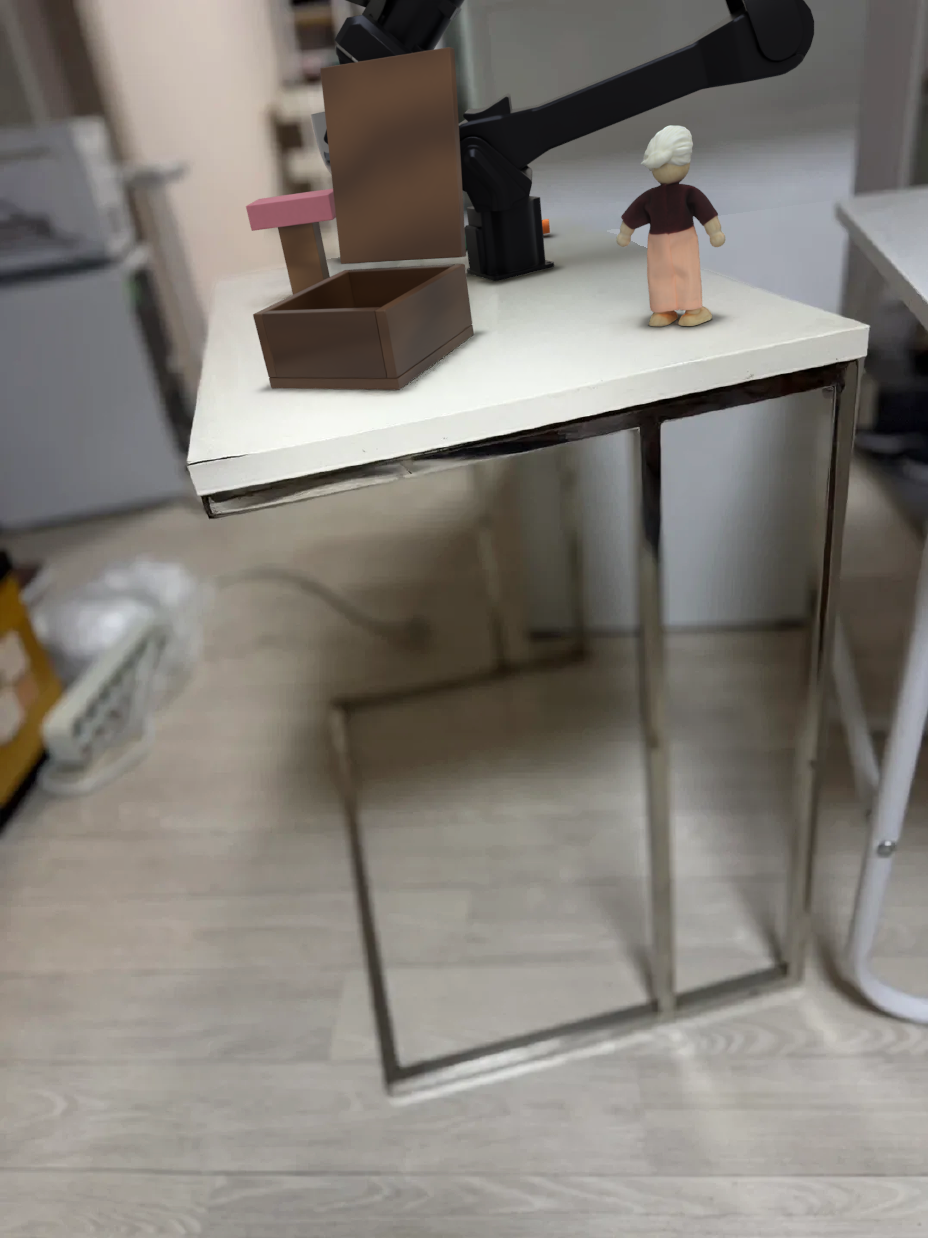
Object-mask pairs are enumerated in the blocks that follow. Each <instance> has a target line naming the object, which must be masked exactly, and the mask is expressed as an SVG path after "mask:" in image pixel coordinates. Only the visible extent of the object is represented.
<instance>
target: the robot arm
mask: <svg viewBox="0 0 928 1238" xmlns="http://www.w3.org/2000/svg"><path fill="white" fill-rule="evenodd" d="M345 1H346V2H349V3H352V4H354V5H357V6H359V7H362V8H364V10H363V11H362V13H361V14H359V15H354V16H347V17H346V18H345V20H344V21H343V24H342V25H341V27H340V29H339V30H338V33H337V34H336V36H335V38H334V41H335V43H336V45H335V48H334V50H335V55H336V56H337V59H338V65H342V64H348V63H354V62H361V61H367V60H373V59H379V58H385V57H391V56H398V55H404V54H410V53H416V52H422V51H428V50H434V49H436V47H437V45H438V44H439V42H440V41H441V39H442V37H443V36H444V34H445V32H446V31H447V29H448V28H449V26H450V24H451V23H452V21H456V19H457V18H458V16H459V15H460V13H461V11H462V10H463V9H462V8H461V7H462V5H463V4H464V2H465V0H345ZM724 2H725V5H726V9H727V11H728V14H729V15H727V16H726V17H723V18H722V19H720V20H719V21H717V22H716V23H714V24H713V25H712V26H710V27H709V28H708V29H706V30H704V31H703V32H702V33H700V34H699V35H697V36H696V37H694V38H693V39H692V40H690V41H688V42H687V43H685V44H683V45H680V46H678V47H675V48H673V49H670V50H668V51H665V52H663V53H661V54H658V55H656V56H653V57H650V58H648V59H646V60H643V61H641V62H638V63H636V64H633V65H631V66H629V67H626V68H624V69H621V70H619V71H617V72H614V73H612V74H609V75H607V76H605V77H602V78H600V79H596V80H594V81H592V82H590V83H588V84H584V85H582V86H579V87H578V88H575V89H573V90H570V91H568V92H565V93H562V94H560V95H557V96H555V97H553V98H550V99H549V100H546V101H543V102H541V103H539V104H533V105H529V106H523V107H516V108H513V106H512V98H511V93H509V92H507V93H506V94H504V95H503V96H501V97H499V98H498V99H496V100H495V101H493V102H492V103H490V104H488V105H486V106H483V107H480V108H472V107H471V108H470V107H469V108H468V109H467V110H466V111H465V112H464V113H463V115H462V117H463V119H464V120H462V121H461V122H459V139H460V156H461V174H462V191H463V192H465V193H466V194H467V197H468V199H469V200H470V203H471V204H472V205H471V206H468V207H466V216H467V225H464V227H465V238H466V246H467V249H466V255H467V260H468V262H467V263H468V267H467V268H466V274H468V275H471V276H475V277H478V278H482V279H484V280H488V281H492V282H500V281H505V280H508V279H512V278H517V277H520V276H521V277H522V276H524V275H528V274H529V275H530V274H532V273H536V272H541V271H545V270H549V269H553V268H555V262H554V261H553V260H552V261H551V260H548V259H546V250H545V239H544V234H543V226H542V220H543V216H542V214H543V213H542V203H541V197H540V196H535V195H531V190H532V187H533V186H532V185H533V169H532V168H531V167H530V166H529V164H531V163H532V162H534V161H535V160H537V159H538V158H539V157H541V156H542V155H544V154H546V153H547V152H549V151H550V150H552V149H555V148H557V147H560V146H563V145H565V144H568V143H571V142H574V141H575V140H578V139H580V138H583V137H585V136H587V135H588V136H589V135H590V134H592V133H596V132H598V131H600V130H603V129H606V128H608V127H610V126H612V125H613V126H614V125H615V124H618V123H621V122H624V121H625V120H629V119H630V118H633V117H635V116H638V115H641V114H643V113H647V112H649V111H650V110H653V109H655V108H658V107H661V106H663V105H666V104H669V103H671V102H673V101H676V100H679V99H682V98H683V97H686V96H689V95H691V94H694V93H696V92H699V91H701V90H705V89H711V88H718V87H719V88H720V87H724V86H731V85H737V84H743V83H749V82H753V81H758V80H763V79H769V78H774V77H779V76H783V75H786V74H788V73H789V72H791V71H792V70H794V69H796V68H797V67H798V66H799V65H801V63H803V61H804V59H805V57H806V56H807V54H808V52H809V51H810V49H811V47H812V44H813V41H814V40H813V39H814V36H815V19H814V15H813V12H812V9H811V8H810V7H809V5H808V4H807V3H806V1H805V0H724ZM324 141H325V142H326V143H327V144H328V137H327V129H326V132H325V135H324Z"/></svg>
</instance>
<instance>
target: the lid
mask: <svg viewBox="0 0 928 1238" xmlns="http://www.w3.org/2000/svg"><path fill="white" fill-rule="evenodd" d="M319 71H320V78H321V89H322V98H323V99H322V100H323V107H324V108H323V109H324V112H325V118H326V128H327V137H328V147H329V156H330V165H331V173H330V175H331V184H332V189H333V194H334V203H335V213H336V218H335V222H336V230H337V231H336V232H337V237H338V238H337V240H338V241H337V242H338V250H339V259H340V264H341V265H348V264H349V265H350V264H366V263H383V262H384V263H385V262H400V261H401V262H402V261H419V260H435V259H453V258H454V259H455V258H466V257H467V249H466V244H465V212H464V210H465V209H464V193H463V192H464V191H463V190H462V174H461V156H460V139H459V123H460V121H459V106H458V105H459V104H458V89H457V70H456V53H455V48H453V47H451V46H447V47H442V48H441V47H440V48H434V50H428V51H422V52H416V53H410V54H404V55H398V56H391V57H385V58H379V59H373V60H367V61H361V62H354V63H348V64H342V65H340V64H336V65H329V66H324V67H320V69H319Z"/></svg>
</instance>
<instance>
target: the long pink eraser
mask: <svg viewBox="0 0 928 1238" xmlns="http://www.w3.org/2000/svg"><path fill="white" fill-rule="evenodd" d="M245 210H246V213H247V217H248V221H249V222H248V223H249V225H250V229H251V231H253V232H254V231H261V230H269V229H278V227H284V226H292V225H299V224H306V223H314V222H319V223H321V222H327V221H333V220H336V213H335V203H334V194H333V188H327V189H319V190H312V191H305V192H298V193H291V194H283V195H277V196H270V197H262V198H257V199H256V200H254V201H252V202H251V203H249V204H247V205H246V206H245Z"/></svg>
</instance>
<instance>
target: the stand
mask: <svg viewBox="0 0 928 1238" xmlns="http://www.w3.org/2000/svg"><path fill="white" fill-rule="evenodd" d="M277 231H278V235H279V239H280V244H281V249H282V253H283V257H284V262H285V267H286V270H287V275H288V279H289V283H290V284H289V285H290V289H291V291H292V292H291V293H292V295H294V294H296V293H298V292H300V291H302V290H304V289H306V288H308V287H311V286H313V285H315V284H317V283H319V282H321V281H323V280H325V279H327V278H329V277H331V276H330V270H329V267H328V265H329V264H328V261H327V257H326V256H327V255H326V252H325V247H324V241H323V236H322V232H321V226H320V222H314V223H306V224H299V225H292V226H284V227H277Z"/></svg>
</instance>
